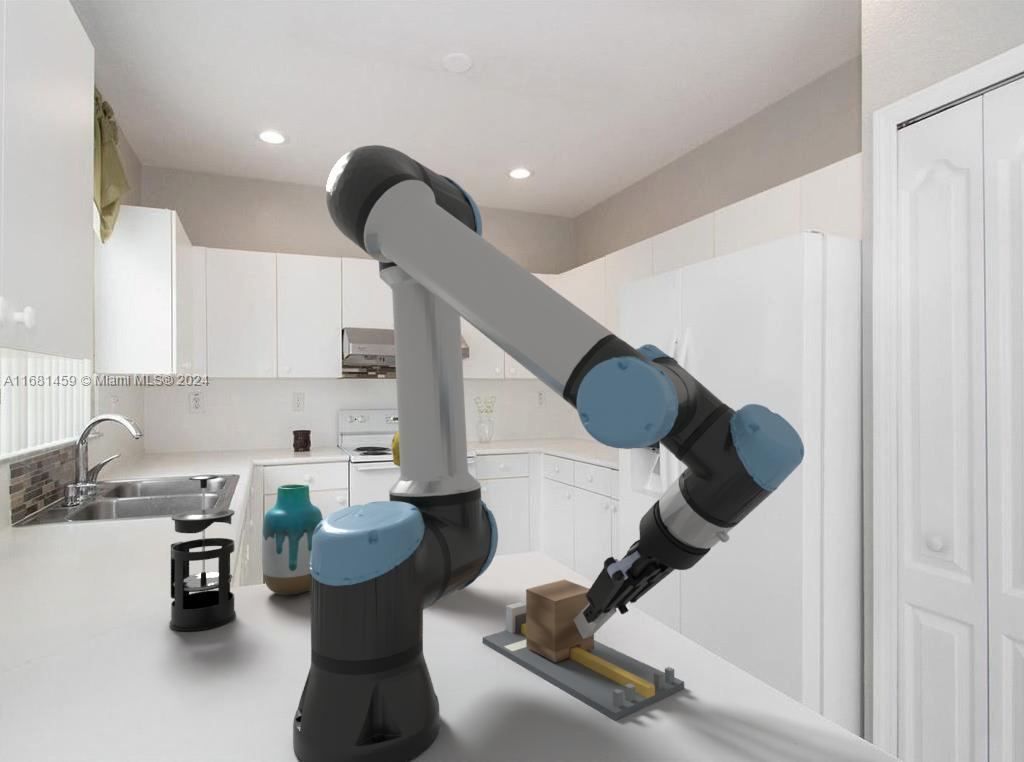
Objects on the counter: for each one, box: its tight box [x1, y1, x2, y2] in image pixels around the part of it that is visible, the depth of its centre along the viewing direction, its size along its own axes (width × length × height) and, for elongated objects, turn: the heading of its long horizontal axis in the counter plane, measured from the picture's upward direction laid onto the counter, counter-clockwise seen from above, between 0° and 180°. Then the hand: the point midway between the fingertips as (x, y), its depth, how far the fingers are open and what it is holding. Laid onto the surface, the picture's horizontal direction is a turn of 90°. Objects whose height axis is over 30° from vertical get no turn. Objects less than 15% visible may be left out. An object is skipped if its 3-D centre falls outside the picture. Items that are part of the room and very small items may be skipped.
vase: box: [261, 483, 324, 596], centre depth 111 cm, size 11×11×19 cm
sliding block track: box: [482, 600, 685, 721], centre depth 81 cm, size 26×12×4 cm, turn 37°
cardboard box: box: [525, 579, 595, 662], centre depth 84 cm, size 6×7×8 cm
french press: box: [169, 474, 237, 633], centre depth 97 cm, size 12×9×23 cm
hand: (582, 627), depth 80 cm, fingers closed
